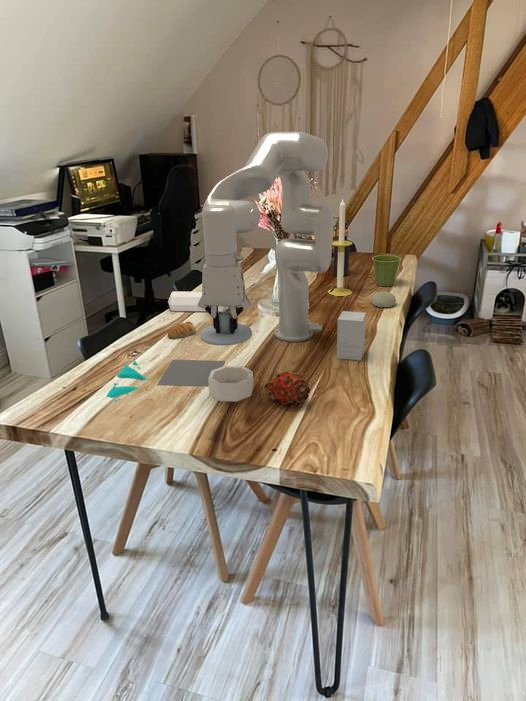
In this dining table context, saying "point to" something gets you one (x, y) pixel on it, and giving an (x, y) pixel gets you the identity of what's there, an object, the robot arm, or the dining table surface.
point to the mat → (189, 372)
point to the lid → (225, 332)
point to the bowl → (230, 383)
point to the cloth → (119, 391)
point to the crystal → (188, 302)
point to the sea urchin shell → (383, 299)
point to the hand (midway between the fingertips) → (225, 330)
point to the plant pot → (385, 269)
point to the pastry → (182, 330)
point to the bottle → (346, 255)
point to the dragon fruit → (288, 388)
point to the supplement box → (351, 335)
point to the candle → (341, 255)
